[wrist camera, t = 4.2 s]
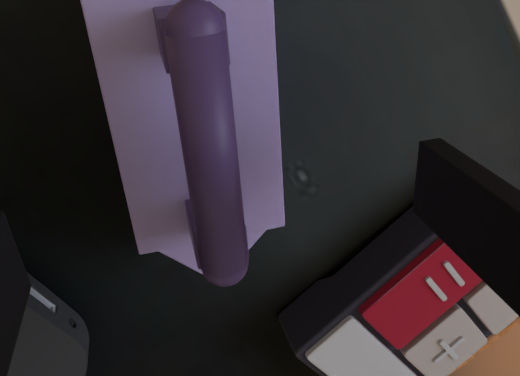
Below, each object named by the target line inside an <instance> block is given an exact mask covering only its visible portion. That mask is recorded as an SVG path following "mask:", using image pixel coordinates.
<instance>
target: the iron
mask: <svg viewBox="0 0 520 376" xmlns="http://www.w3.org/2000/svg"><path fill="white" fill-rule="evenodd" d="M80 2H81V6H82V10H83V15H84V19H85V23H86V28H87V32H88V36H89V41H90V45H91V49H92V54H93V58H94V62H95V66H96V71H97V75H98V79H99V84H100V88H101V92H102V97H103V101H104V105H105V110H106V114H107V118H108V123H109V127H110V131H111V136H112V140H113V144H114V149H115V153H116V157H117V161H118V166H119V170H120V174H121V179H122V183H123V187H124V192H125V196H126V200H127V205H128V209H129V213H130V218H131V222H132V226H133V231H134V235H135V239H136V244H137V248H138V252H139V254H140V255H141V254H146V253H151V252H156V251H159V252H161V253H163V254H165V255H167V256H168V257H170V258H172V259H174V260H176V261H178V262H180V263H182V264H184V265H186V266H188V267H189V268H191V269H193V270H195V271H197V272H199V273H201V274H203V275H204V276H205V278H206V279H207V280H208V281H209V282H211V283H212V284H214V285H216V286H221V287H227V286H232V285H234V284H236V283H238V282H239V281H240V280H241V279H242V278H243V277H244V275H245V274H246V272H247V269H248V259H249V251H248V250H249V249H250V248H251V247H252V246H253V244H254V243H255V242H256V241H257V240H258V239H259V238H260V236H261V235H262V234H263V233H264V232H265V231H266V230H268V229H273V228H278V227H283V226H285V215H284V196H283V176H282V157H281V138H280V118H279V99H278V79H277V60H276V40H275V21H274V2H273V0H80Z"/></svg>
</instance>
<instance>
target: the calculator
mask: <svg viewBox="0 0 520 376" xmlns="http://www.w3.org/2000/svg"><path fill="white" fill-rule="evenodd" d="M518 317H519V316H518V315H517V314H516V313H515V312H514V311H513V310H512V309H511V308H510V307H509V306H508V305H507V304H506V303H505V302H504V301H503V300H502V299H501V298H500V297H499V296H498V295H497V294H496V293H495V292H494V291H493V290H492V289H491V288H490V287H489V286H488V285H487V284H486V283H485V282H484V281H483V280H482V279H481V278H480V277H479V276H478V275H477V274H476V273H475V272H474V271H473V270H472V269H471V268H470V267H469V266H467V265H466V264H465V263H464V262H463V261H462V260H461V259H460V258H459V257H458V256H457V255H456V254H455V253H454V252H453V251H452V250H451V249H450V248H449V247H448V246H447V245H446V244H445V243H444V242H443V241H442V240H441V239H440V238H439V237H438V236H437V235H436V234H435V233H434V232H433V231H432V230H431V229H430V228H429V227H428V226H427V225H426V224H425V223H424V222H423V221H422V220H421V219H420V218H419V217H418V216H417V215H416V214H415V213H414V212H413V206H412V207H411V208H410V209H409V210H408V211H406V212H405V213H404V214H403V215H402V216H401V217H400V218H398V219H397V220H396V221H395V222H394V223H393V224H392V225H390V226H389V227H388V228H387V229H386V230H385V231H384V232H382V233H381V234H380V235H379V236H378V237H377V238H376V239H374V240H373V241H372V242H371V243H370V244H369V245H368V246H366V247H365V248H364V249H363V250H362V251H361V252H360V253H358V254H357V255H356V256H355V257H354V258H353V259H352V260H350V261H349V262H348V263H347V264H346V265H345V266H344V267H342V268H341V269H340V270H339V271H338V272H337V273H335V274H334V275H333V276H331V277H328V278H325V279H321V280H318V281H316V282H315V283H314V284H313V285H312V286H311V287H310V288H308V289H307V290H306V291H305V292H304V293H303V294H302V295H300V296H299V297H298V298H297V299H296V300H295V301H294V302H292V303H291V304H290V305H289V306H288V307H287V308H286V309H284V310H283V311H282V312H281V313H280V314H279V316H278V321H279V323H280V325H281V327H282V329H283V331H284V333H285V335H286V337H287V340H288V342H289V344H290V346H291V348H292V350H293V352H294V354H295V356H296V357H297V358H298V359H299V360H300V361H302V362H303V363H304V364H306V365H307V366H308V367H309V368H311V369H312V370H313V371H315V372H316V373H317V374H319V375H320V376H448V375H449V374H450V373H451V372H452V371H454V370H455V369H456V368H457V367H458V366H460V365H461V364H462V363H463V362H465V361H466V360H467V359H468V358H469V357H471V356H472V355H473V354H474V353H475V352H477V351H478V350H479V349H480V348H481V347H483V346H484V345H485V344H486V343H487V337H488V336H490V335H491V334H494V335H496V334H498V333H499V332H501V331H502V330H503V329H504V328H506V327H507V326H508V325H509V324H510V323H512V322H513V321H514V320H515V319H516V318H518Z"/></svg>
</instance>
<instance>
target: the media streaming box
mask: <svg viewBox="0 0 520 376" xmlns="http://www.w3.org/2000/svg"><path fill="white" fill-rule="evenodd" d="M27 274H28V277H29V280H30V282H31V285H32V287H31V290H30V294H29V298H28V301H27V305H26V308H25V312H24V316H23V319H22V323H21V327H20V330H19V334H18V338H17V341H16V345H15V349H14V352H13V356H12V359H11V363H10V367H9V370H8V374H7V376H85V375H86V371H87V362H88V350H89V333H88V330H87V327H86V324H85V323H84V321H83V319H82V318H81V317H80V315H79V314H77V313H76V312H75V311H74V310H73V309H72V308H71V307H69V306H68V305H67V304H66V303H65V302H64V301H62V300H61V299H60V298H59V297H58V296H56V295H55V294H54V293H53V292H51V291H50V290H49V289H48V288H47V287H45V286H44V285H43V284H42V283H40V282H39V281H38V280H37V279H35V278H34V277H33V276H31V275H30V274H29V273H28V272H27Z"/></svg>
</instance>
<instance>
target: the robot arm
mask: <svg viewBox="0 0 520 376" xmlns="http://www.w3.org/2000/svg"><path fill="white" fill-rule="evenodd" d="M413 212H414V213H415V214H416V215H417V216H418V217H419V218H420V219H421V220H422V221H423V222H424V223H425V224H426V225H427V226H428V227H429V228H430V229H431V230H432V231H433V232H434V233H435V234H436V235H437V236H438V237H439V238H440V239H441V240H442V241H443V242H444V243H445V244H446V245H447V246H448V247H449V248H450V249H451V250H452V251H453V252H454V253H455V254H456V255H457V256H458V257H459V258H460V259H461V260H462V261H463V262H464V263H465V264H466V265H467V266H469V267H470V268H471V269H472V270H473V271H474V272H475V273H476V274H477V275H478V276H479V277H480V278H481V279H482V280H483V281H484V282H485V283H486V284H487V285H488V286H489V287H490V288H491V289H492V290H493V291H494V292H495V293H496V294H497V295H498V296H499V297H500V298H501V299H502V300H503V301H504V302H505V303H506V304H507V305H508V306H509V307H510V308H511V309H512V310H513V311H514V312H515V313H516V314H517V315H518V316H519V317H520V190H518V189H517V188H515V187H514V186H512V185H511V184H509V183H508V182H506V181H505V180H503V179H502V178H500V177H498V176H497V175H495V174H494V173H492V172H491V171H489V170H488V169H486V168H485V167H483V166H482V165H480V164H479V163H477V162H476V161H474V160H473V159H471V158H470V157H468V156H467V155H465V154H464V153H462V152H461V151H459V150H458V149H456V148H455V147H453V146H452V145H450V144H448V143H447V142H445V141H444V140H442V139H441V138H437V139H431V140H425V141H420V142H419V152H418V162H417V172H416V182H415V192H414V202H413ZM31 287H32V285H31V282H30V280H29V277H28V274H27V272H26V269H25V266H24V264H23V261H22V258H21V256H20V253H19V251H18V248H17V245H16V243H15V240H14V237H13V235H12V232H11V229H10V227H9V224H8V221H7V219H6V216H5V213H4V211H2V212H0V376H7V374H8V370H9V367H10V363H11V359H12V356H13V352H14V349H15V345H16V341H17V338H18V334H19V330H20V327H21V323H22V319H23V316H24V312H25V308H26V305H27V301H28V298H29V294H30V290H31Z"/></svg>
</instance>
